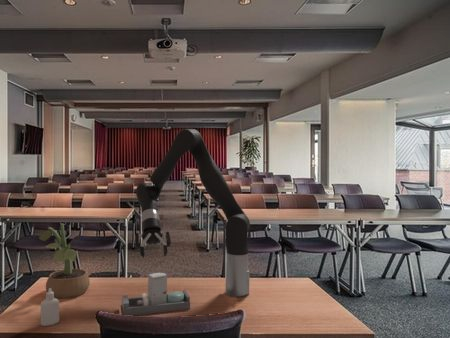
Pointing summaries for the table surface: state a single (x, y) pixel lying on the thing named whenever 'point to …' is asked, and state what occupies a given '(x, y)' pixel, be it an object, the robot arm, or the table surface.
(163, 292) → the skincare box
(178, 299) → the teal jar
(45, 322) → the eye dropper bottle
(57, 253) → the potted plant
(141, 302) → the spring paddle
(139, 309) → the pusher lane
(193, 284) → the table surface
